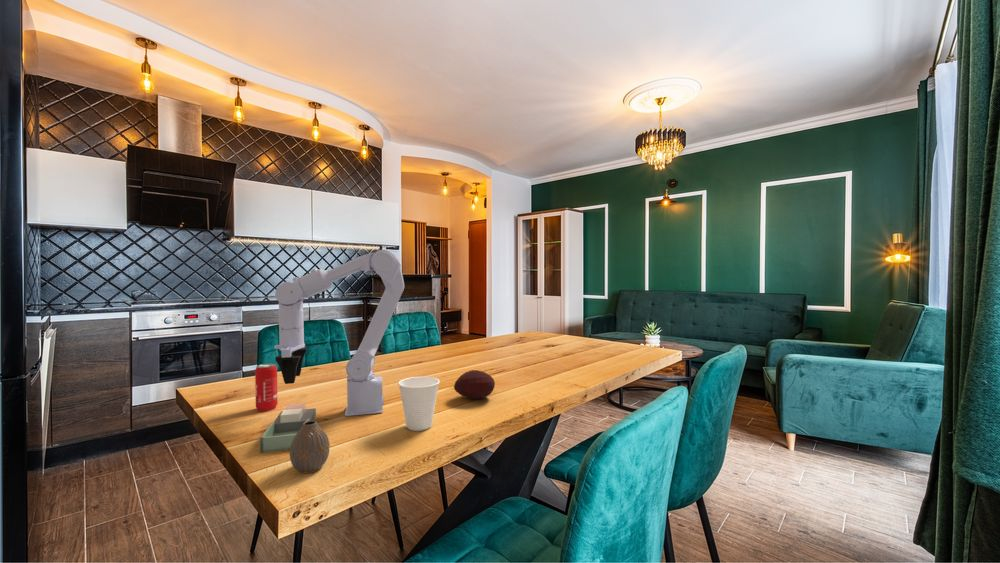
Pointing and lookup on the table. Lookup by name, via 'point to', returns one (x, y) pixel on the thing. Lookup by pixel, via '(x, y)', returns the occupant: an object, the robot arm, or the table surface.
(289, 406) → the tile terracotta
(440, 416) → the table surface
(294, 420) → the tile ivory
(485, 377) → the dark brown oval lump
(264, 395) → the beverage can
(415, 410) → the cup
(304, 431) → the vase
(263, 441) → the box
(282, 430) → the ledge
